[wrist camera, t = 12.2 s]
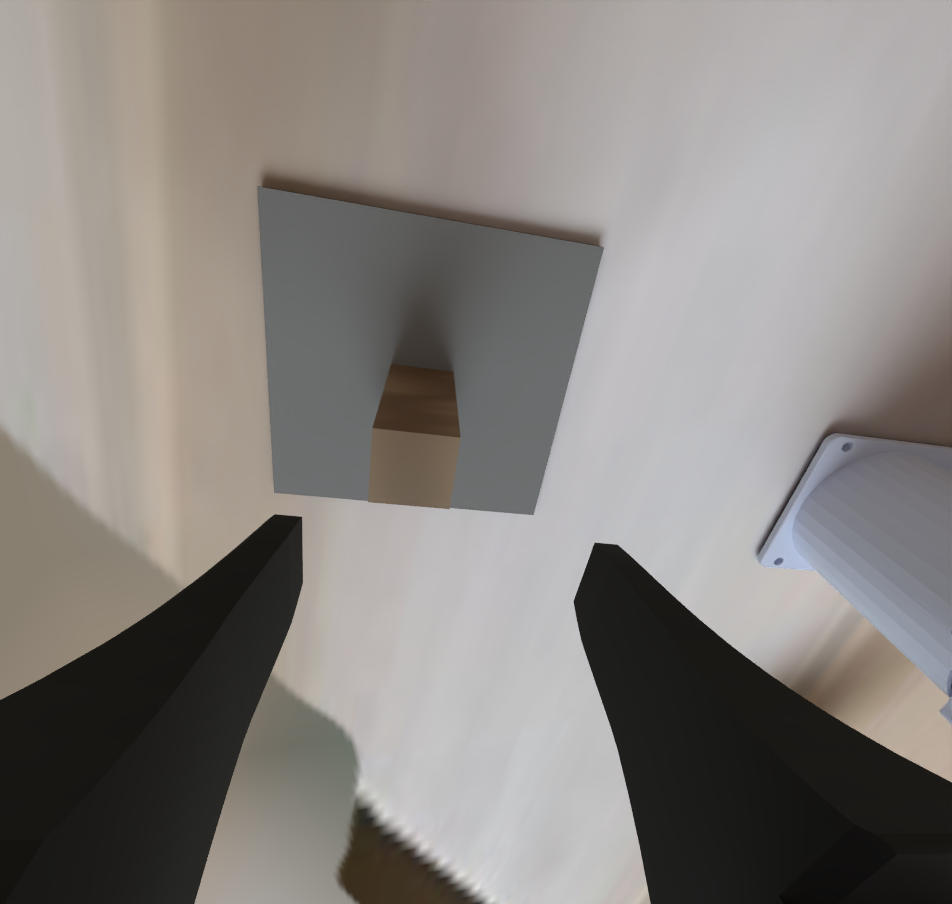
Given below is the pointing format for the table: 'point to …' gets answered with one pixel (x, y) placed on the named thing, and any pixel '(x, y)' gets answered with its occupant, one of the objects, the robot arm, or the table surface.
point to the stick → (415, 439)
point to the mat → (415, 340)
